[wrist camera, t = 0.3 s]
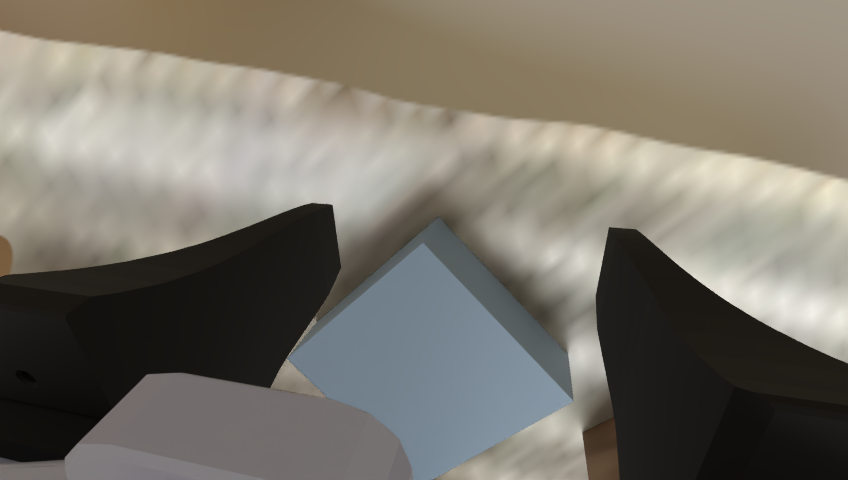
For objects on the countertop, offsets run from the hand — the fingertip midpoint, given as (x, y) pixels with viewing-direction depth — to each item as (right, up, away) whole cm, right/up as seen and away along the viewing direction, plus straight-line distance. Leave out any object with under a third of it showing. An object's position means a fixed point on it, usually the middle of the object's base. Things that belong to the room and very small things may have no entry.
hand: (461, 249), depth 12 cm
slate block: (0, -5, +14) cm, 15 cm away
